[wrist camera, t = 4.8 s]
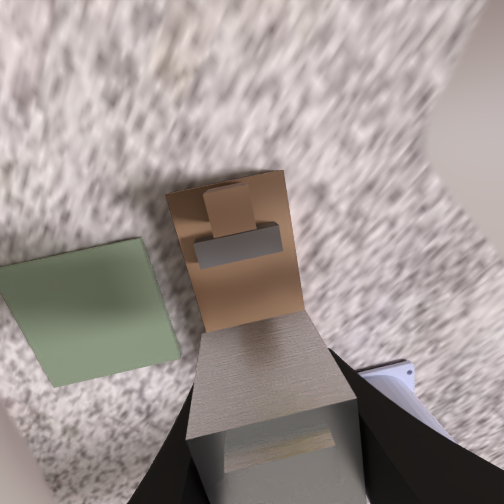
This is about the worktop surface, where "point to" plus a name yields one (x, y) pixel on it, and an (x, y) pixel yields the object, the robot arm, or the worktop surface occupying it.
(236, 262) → the plane body
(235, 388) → the lever cap
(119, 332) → the rubber mat
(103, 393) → the worktop surface
